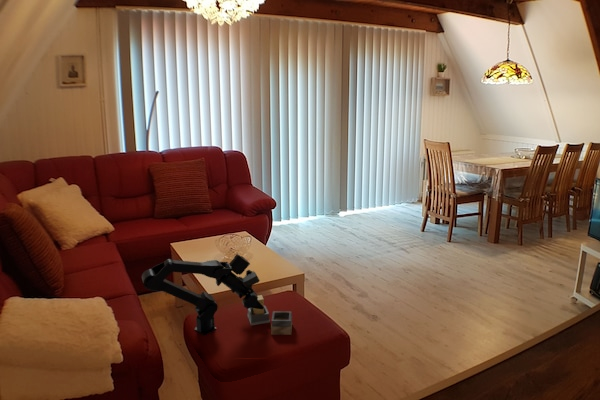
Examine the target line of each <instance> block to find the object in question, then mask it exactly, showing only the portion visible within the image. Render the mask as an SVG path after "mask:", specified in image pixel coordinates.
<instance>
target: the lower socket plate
mask: <svg viewBox="0 0 600 400" xmlns="http://www.w3.org/2000/svg"><path fill="white" fill-rule="evenodd" d="M247 319H248V320H249V325H250V326H256V325H262V324H270V322H271V320H270V313H269V310H268V307H267V306H266V305H265V304H264V314H257V315H253V308H249V309H247Z"/></svg>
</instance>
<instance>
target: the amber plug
mask: <svg viewBox="0 0 600 400" xmlns="http://www.w3.org/2000/svg"><path fill="white" fill-rule="evenodd" d="M257 295H258V294H257ZM258 301H259V302H260V303H261V304H262V305H263V307H264V305H265V299H264V297H263V295H262V294H260V295H258ZM257 314H264V308H263V309H256V308H253V315H257Z"/></svg>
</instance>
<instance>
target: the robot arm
mask: <svg viewBox="0 0 600 400" xmlns="http://www.w3.org/2000/svg"><path fill="white" fill-rule="evenodd" d="M250 265H251V262H249V261H248V259H246V258H245V257H243V256H242V255H241V254H239V253H236V254H235V255H234V257H233V259H232V260H231V261H230V262H228V261H219V260H216V259H214V260H206V261H203V262H202V261H201V262H198V261H187V260H177V259H171V258H168V259H166V260H164V261H163V262H161V263H158V264H156V265H154V266H153V267H151V268H149V269H146V270H144V271H143V273H142V274H141V280H142V283H143V286H144V288H145V289H147V290H149V291H154V292H164V293H166V294H168V295H170V296H173V297H175V298H177V299H180V300H182V301H185V302H186V303H189V304H192V305H194V306H195V308H194V310H195V312H196V314H197V316H196V317H195V322H196V326H195V328H194V331H196V332H197V333H199V334H201V335H203V336H205V335H207V334H210V333H211V332H213V331H216V330H217V327H216V326H215V317H214V316H215V314H216V312H217V311H218V309H219V307H218V304H217V302H216V299H215V298H214V297H213V295H212V293H208V292H206V291H204V290H202V292H201V293H197V292H195V291H192V290H189V289H187V288H186V287H183V286H181V285H178V283H177V284H176V283H174V282H173V281H169V280H168V279H166V278H167V277H168V276H170V274H172V273H183V274H197V275H203V276H205V277H208V278H211V279H215V284H216V286H217V287H220V286H221V284H223V285H225V286H226V287H227V288H228V289H229V290H230V291H231V292H232V293H233V294H234V293H235V294H237V296H238V298H240V299H242V298H243V299H242V301H241V303H242V305H243V307H244V308H246V309H247V310H248V309H249V308H256V309H263V308H264V307H263V305H262V304H261V303H260V302H259V301H258V294H257V293H256V291H255V290H254V288H253V286H254V285H255V284H258V283H259V282H260V281H261V280H260V279H259V276H258V275H257V273H256V272H255V271H254V270H250V269H247V268H248V267H249V266H250ZM246 269H247V270H246ZM244 272H245V275H244V276H243V277H242V276H240V275H242V274H243V273H244ZM237 275H239V276H237Z"/></svg>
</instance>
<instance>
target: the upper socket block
mask: <svg viewBox="0 0 600 400" xmlns="http://www.w3.org/2000/svg"><path fill="white" fill-rule="evenodd" d="M292 329H293V316H292V311H288V310H287V311H284V310H283V311H279V310H278V311H275V310H273V311H272V314H271V326H270V333H271V335H274V336H275V335H276V336H277V335H279V336H282V335H285V336H287V335H288V336H289V335H291V336H292V333H293V332H292V331H293V330H292Z"/></svg>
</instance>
